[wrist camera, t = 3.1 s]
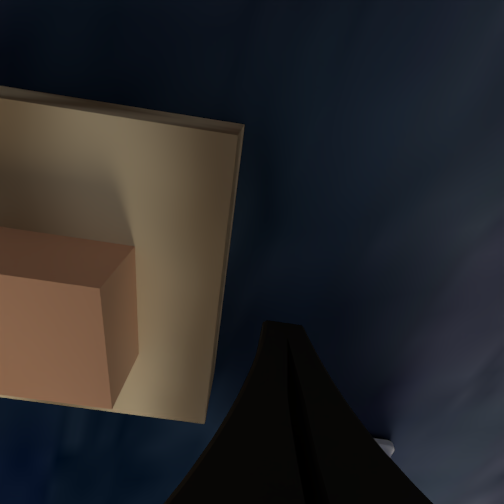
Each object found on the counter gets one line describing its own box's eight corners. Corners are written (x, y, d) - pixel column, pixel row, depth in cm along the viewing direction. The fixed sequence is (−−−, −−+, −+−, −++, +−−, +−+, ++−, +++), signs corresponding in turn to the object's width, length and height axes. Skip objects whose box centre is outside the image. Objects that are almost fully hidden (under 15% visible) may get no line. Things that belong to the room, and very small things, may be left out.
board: (244, 124, 11) (237, 135, 9) (214, 372, 17) (204, 423, 15) (-121, 66, 11) (-244, 59, 8) (-23, 340, 17) (-76, 387, 14)
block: (134, 246, 10) (99, 288, 8) (139, 353, 13) (112, 409, 11) (-16, 224, 10) (-93, 261, 8) (15, 337, 13) (-38, 389, 10)
